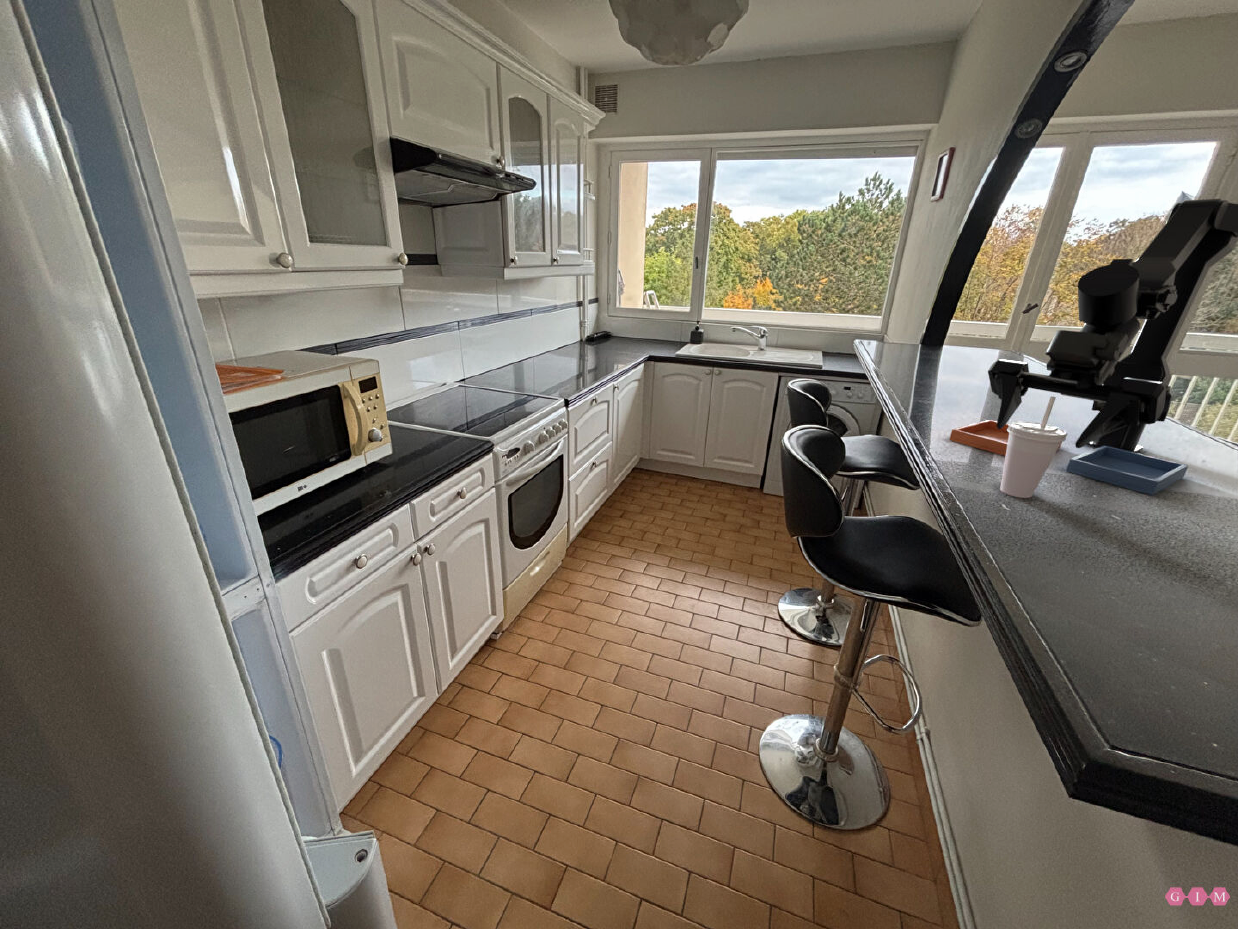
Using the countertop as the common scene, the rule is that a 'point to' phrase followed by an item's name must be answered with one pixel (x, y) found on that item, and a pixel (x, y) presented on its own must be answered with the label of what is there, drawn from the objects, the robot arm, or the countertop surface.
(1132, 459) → the blue tray
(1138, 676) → the countertop surface
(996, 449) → the orange tray
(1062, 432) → the smoothie
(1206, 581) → the countertop surface
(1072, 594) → the countertop surface
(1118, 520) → the countertop surface
